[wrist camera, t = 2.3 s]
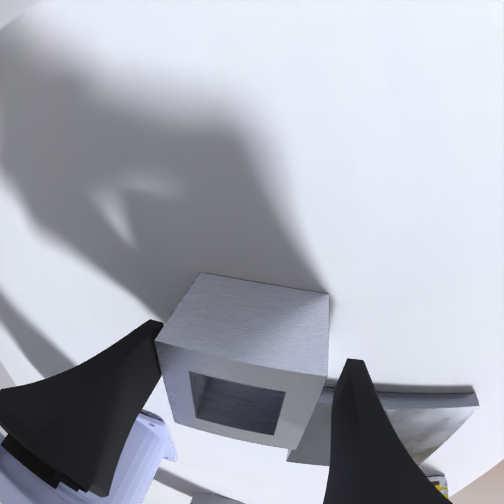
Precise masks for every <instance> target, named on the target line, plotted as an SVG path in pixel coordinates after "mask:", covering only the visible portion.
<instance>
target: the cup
mask: <svg viewBox="0 0 504 504" xmlns="http://www.w3.org/2000/svg"><path fill="white" fill-rule="evenodd" d="M190 504H245V503H242V502H239V501H236V500H233V499H229V498H225V497H221V496H217V495H212V494H206V493H195V494H194V495H193V498H192V500H191V503H190Z"/></svg>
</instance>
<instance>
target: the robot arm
mask: <svg viewBox="0 0 504 504" xmlns="http://www.w3.org/2000/svg"><path fill="white" fill-rule="evenodd" d="M163 327H164V325H163V323H162V322H158V321H155V320H151V319H150V320H148V321H147V322H145V323H144V324H142V325H141V326H139V327H138V328H137V329H135V330H134V331H132V332H131V333H129V334H128V335H127V336H125V337H124V338H122V339H121V340H119V341H118V342H116V343H115V344H113V345H112V346H110V347H109V348H107V349H106V350H104V351H102V352H101V353H99V354H97V355H96V356H94V357H93V358H91V359H89V360H87V361H86V362H84V363H82V364H80V365H78V366H76V367H74V368H72V369H69V370H67V371H65V372H62V373H60V374H57V375H55V376H52V377H50V378H47V379H44V380H41V381H37V382H34V383H30V384H26V385H22V386H17V387H11V388H5V389H1V390H0V426H1V427H2V428H3V429H4V430H5V431H6V432H7V433H8V435H7V436H6V437H4V436H3V435H2V434H1V433H0V501H1V502H2V504H142V502H143V500H144V498H145V495H146V493H147V491H148V489H149V487H150V485H151V482H152V480H153V478H154V476H155V474H156V472H157V469H158V467H159V465H160V463H161V461H162V459H163V458H164V459H167V460H170V461H173V462H177V460H178V458H177V455H176V453H175V450H174V448H173V445H172V442H171V440H170V437H169V434H168V431H167V429H166V426H165V424H164V423H163V422H161V421H159V420H157V419H154V418H151V417H148V416H146V415H143V414H140V412H141V410H142V408H143V406H144V405H145V403H146V401H147V400H148V398H149V396H150V395H151V393H152V391H153V390H154V388H155V386H156V384H157V383H158V381H159V379H160V378H161V375H162V372H161V367H160V363H159V359H158V354H157V349H156V345H155V339H156V337H157V336H158V334H159V333H160V331H161V330H162V328H163ZM323 504H452V502H450V501H449V500H448V499H447V498H446V497H445V496H444V495H443V494H442V493H441V492H440V491H439V490H438V489H437V488H436V487H435V486H434V485H433V484H432V483H431V481H430V480H429V479H428V478H427V477H426V476H425V474H424V473H423V472H422V470H421V469H420V468H419V467H418V465H417V464H416V463H415V461H414V460H413V459H412V457H411V456H410V454H409V453H408V451H407V450H406V448H405V447H404V445H403V443H402V442H401V440H400V439H399V437H398V435H397V433H396V432H395V430H394V428H393V426H392V424H391V422H390V420H389V418H388V416H387V414H386V412H385V410H384V408H383V406H382V404H381V401H380V399H379V397H378V395H377V393H376V390H375V388H374V385H373V383H372V380H371V378H370V375H369V373H368V370H367V368H366V365H365V362H364V361H363V360H357V359H348V358H347V361H346V363H345V366H344V368H343V371H342V373H341V375H340V378H339V380H338V382H337V384H336V387H335V389H334V393H333V401H332V410H331V446H330V467H329V475H328V481H327V487H326V492H325V497H324V502H323Z"/></svg>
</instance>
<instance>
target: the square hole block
mask: <svg viewBox="0 0 504 504" xmlns="http://www.w3.org/2000/svg"><path fill="white" fill-rule="evenodd" d="M155 345H156V349H157V354H158V359H159V363H160V367H161V372H162V376H163V380H164V384H165V388H166V392H167V396H168V400H169V403H170V407H171V411H172V414H173V418H174V421H175V423H178V424H181V425H185V426H188V427H191V428H195V429H198V430H202V431H205V432H209V433H213V434H217V435H221V436H225V437H229V438H233V439H238V440H242V441H247V442H252V443H257V444H262V445H268V446H273V447H280V448H286V449H293V450H296V448H297V446H298V444H299V442H300V440H301V438H302V435H303V433H304V431H305V429H306V427H307V424H308V422H309V420H310V418H311V415H312V413H313V411H314V408H315V406H316V404H317V401H318V399H319V396H320V394H321V391H322V389H323V386H324V384H325V381H326V379H327V376H328V349H329V294H325V293H318V292H312V291H306V290H299V289H293V288H287V287H281V286H275V285H269V284H263V283H257V282H251V281H245V280H240V279H234V278H228V277H223V276H217V275H212V274H206V273H200V274H199V276H198V277H197V279H196V280H195V282H194V283H193V284H192V286H191V287H190V289H189V290H188V292H187V293H186V295H185V296H184V298H183V299H182V300H181V302H180V303H179V305H178V306H177V308H176V309H175V311H174V312H173V314H172V315H171V317H170V318H169V319H168V321H167V322H166V324H165V325H164V327H163V328H162V330H161V331H160V333H159V334H158V336H157V337H156V339H155Z"/></svg>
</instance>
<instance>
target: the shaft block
mask: <svg viewBox="0 0 504 504" xmlns="http://www.w3.org/2000/svg"><path fill="white" fill-rule="evenodd" d="M334 389H335V388H330V387H323V389H322V391H321V394H320V396H319V399H318V401H317V404H316V406H315V408H314V411H313V413H312V415H311V418H310V420H309V422H308V424H307V427H306V429H305V431H304V433H303V435H302V438H301V440H300V442H299V444H298V446H297V448H296V450H293V449H288V455H287V460H286V461H287V462H295V463H303V464H312V465H323V466H330V446H331V410H332V401H333V393H334ZM376 393H377V395H378V397H379V399H380V401H381V404H382V406H383V408H384V410H385V412H386V414H387V416H388V418H389V420H390V422H391V424H392V426H393V428H394V430H395V432H396V433H397V435H398V437H399V439H400V440H401V442H402V443H403V445H404V447H405V448H406V450H407V451H408V453H409V454H410V456H411V457H412V459H413V460H414V461H415V463H416V464H417V465H419V464H421V463H422V462H423V461H424V460H425V459H426V458H428V457H429V456H430V455H431V454H432V453H433V452H434V451H436V450H437V449H438V448H439V447H440V446H441V445H442V444H443V443H444V442H445V441H446V440H448V439H449V438H450V437H451V436H452V435H453V434H454V433H455V432H456V431H457V430H458V429H459V428H460V427H461V426H462V425H463V424H464V422H465V421H466V420H467V419H468V418H469V417H470V416H471V415H472V414H473V413H474V412H475V411H476V409H477V408H478V407H479V406H480V405H479V402H478V399H477V396H476V393H461V394H407V393H386V392H376Z"/></svg>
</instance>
